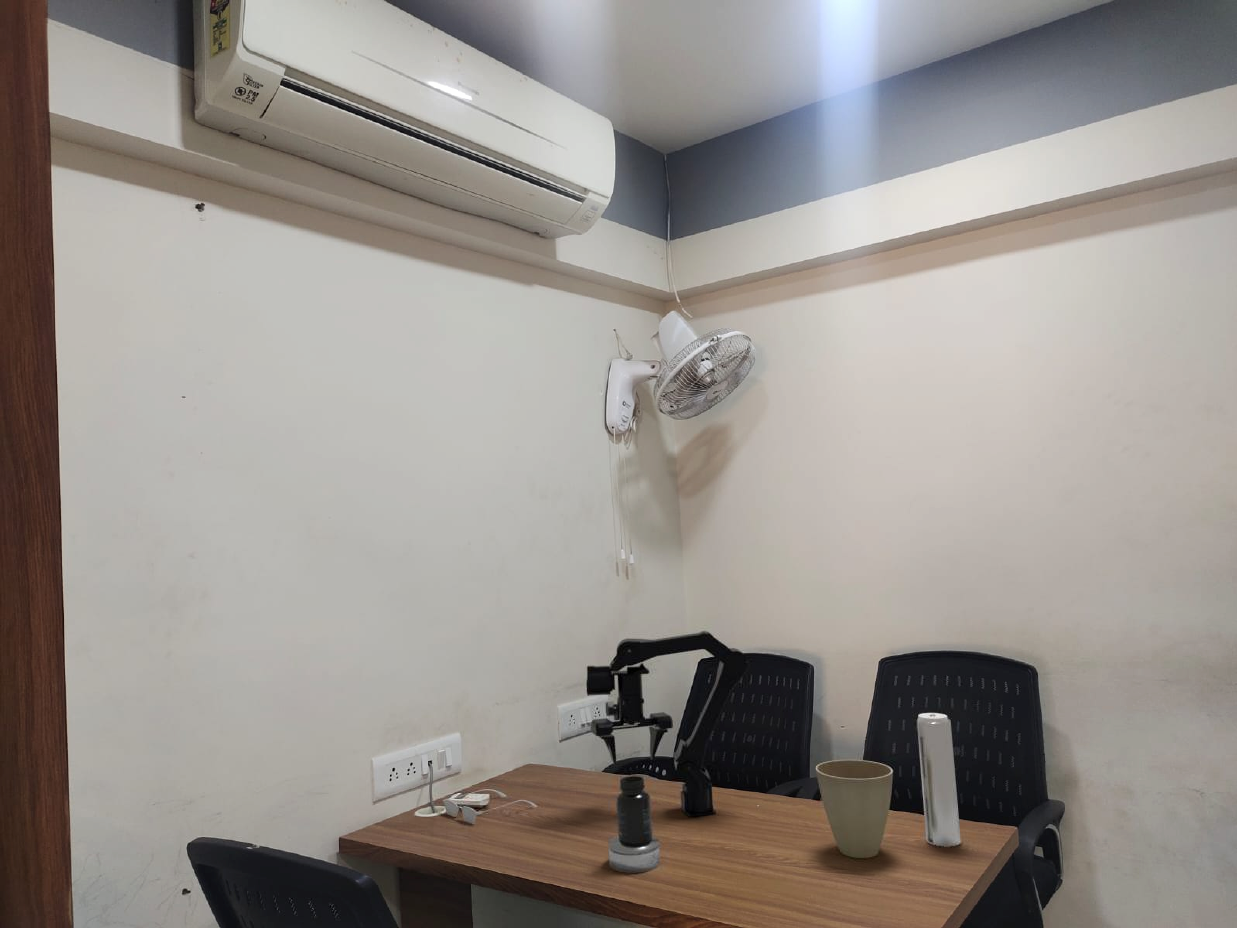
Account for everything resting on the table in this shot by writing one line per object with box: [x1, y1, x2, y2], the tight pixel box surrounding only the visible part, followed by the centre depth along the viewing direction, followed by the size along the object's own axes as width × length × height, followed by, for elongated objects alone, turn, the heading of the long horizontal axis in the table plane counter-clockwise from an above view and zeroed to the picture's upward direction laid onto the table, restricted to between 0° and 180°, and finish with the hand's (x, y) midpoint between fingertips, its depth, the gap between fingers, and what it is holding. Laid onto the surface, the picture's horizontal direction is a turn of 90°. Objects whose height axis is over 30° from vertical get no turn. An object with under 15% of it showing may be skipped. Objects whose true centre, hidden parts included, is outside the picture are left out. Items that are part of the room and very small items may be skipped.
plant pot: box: [815, 759, 894, 859], centre depth 165 cm, size 15×15×16 cm
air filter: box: [916, 712, 962, 848], centre depth 168 cm, size 6×6×25 cm
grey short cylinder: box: [607, 835, 661, 874], centre depth 164 cm, size 10×10×4 cm
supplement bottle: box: [615, 775, 654, 847], centre depth 164 cm, size 7×7×12 cm
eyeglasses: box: [442, 788, 538, 825], centre depth 202 cm, size 15×18×4 cm
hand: (633, 761), depth 194 cm, fingers open, 9 cm apart
